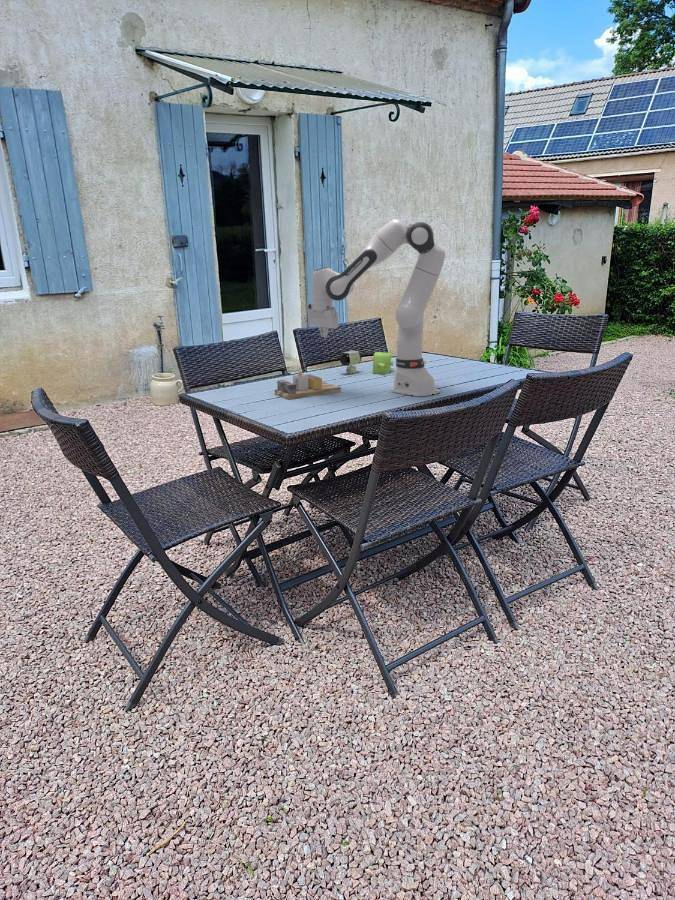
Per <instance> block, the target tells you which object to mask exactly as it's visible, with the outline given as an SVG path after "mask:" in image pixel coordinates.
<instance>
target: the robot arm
mask: <svg viewBox="0 0 675 900" xmlns="http://www.w3.org/2000/svg"><path fill="white" fill-rule="evenodd" d="M434 235H435V234H434V229H433V228H432V225H430V223H428V222H425V221H416V222H414V223H411V224H408V225H407V223H405V222H404V221H403V220H402V219H399V218H393V219H391V220H390V221H388V222H387V223H385V225H383V226H382V227H381V228H379V230H378V231H376V233H374V234H373V236H372V237H371V238H370V239H369V240H368V241H367V243H366V245H365V246H364V248H363V249H362V251H361V252H360V254H359V255H358V256H357V258H356V259H355V260H354V261H352V262H351V264H349V266H347V268H346V269H345V270H343V271H342V272H340V273H339V272H337V271H335V270H333V269H331V268H330V267H327V266H326V267H322V268H317V269H315V270H313V272H312V275H311V291H312V301H311V302H310V303H308V304H307V310H308V311H307V313H308V314H307V315H308V323H309V325H310V326H312V327H313V326H314V327H318V330H319V332H320V337H322V338H328V335H329V334H328V333H329V330H330V329H338V328H339V324H340V323H339V315H338V312H337V309H336V308H335V307H334V305H333V304H334V302H333V301H342V300H345V298H347V297H348V296H349V295H350V294H352V292H353V290H354V284H355V282H356V281H357V280H358V279H359V278H360V277H362V275H363V274H365V272H367V271H368V270H369V269H370V268H372V267H374V266H377V265H380V264H381V263H382V262H384V261H385V260H387V259H388V258H389V257H391V256H392V255H393V254H394V253H395V252H396V251H397V250H398V249H399V248H400V247H401V246H403V245H405V244H407V245H410V247H412V248H413V250H415V251H416V252H418V257H417V260H416V263H415V266H414V269H413V271H412V272H411V276H410V278H409V281H408V283H407V285H406V288H405V290H404V292H403V294H402V297H401V298H400V302H399V303H398V305H397V308H396V310H395V320H396V323H397V324H398V328H397V339H396V358H395V366H396V370H395V372H394V378H393V387H392V388H391V393H396V394H402V395H406V394H407V396H411V395H413V396H412V397H426V396H432V394H434V395H437V393H438V394H440V393H441V390H440V389H438V388H436V387H435V385H436V384H435V378H434V377H433V376H432V375H431V374H430V372H429V371H428V370H427V369H426V367H425V364H426V360H424V358H423V337H424V336H423V335H424V333H423V332H424V320H425V319H424V318H425V314H424V313H425V311H426V307H427V305H428V302H429V300H430V299H431V296H432V294H433V292H434V289H435V286H436V284H437V283H438V280H439V277H440V275H441V272H442V269H443V266H444V262H445V257H446V252H445V250H444V248H442V247H441V246H440V245H437V243H435V238H434ZM439 392H440V393H439Z"/></svg>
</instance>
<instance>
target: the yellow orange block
mask: <svg viewBox="0 0 675 900" xmlns="http://www.w3.org/2000/svg"><path fill="white" fill-rule="evenodd" d="M306 375H307V376H308V385H309V388H312V389H321V388H322V383H323V377H318V376H317V375H316V376H315V375H314V374H313V375H312V374H306Z"/></svg>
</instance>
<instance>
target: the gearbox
mask: <svg viewBox="0 0 675 900" xmlns="http://www.w3.org/2000/svg"><path fill="white" fill-rule="evenodd" d="M372 357H373V358H372V359H373V361H372V374H376V375H377V374H378V375H379V374H381V375H382V374H383V375H387V374H388V375H390V372H391V369H392V368H391V367H393V366H394V360H392V353H391V352H385V351H384V352H382V351H375V352H374V354H373V356H372Z"/></svg>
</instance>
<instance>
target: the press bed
mask: <svg viewBox="0 0 675 900" xmlns="http://www.w3.org/2000/svg"><path fill="white" fill-rule="evenodd" d="M276 382H277V383H276V384H277V388H276V389H274V394H275V395H276V394H277V395H276V396H279V397H281V396H282V398H283V399H287V400H289V401H290V400H296V398H297V399H303V398H308V397H309V396H310V397H315V396H316V397H317V396H321V395H328V394H334V393H341V392H342V389H341V386H338V385H334V384H331V383H328V382H326V381H324V382H323V381H322V388H321V389H312V388H309V389H307V390H300V391H298V390H296V384H293V382H290V381H287V380H285V379H282V380H277V381H276ZM302 397H303V398H302Z"/></svg>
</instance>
